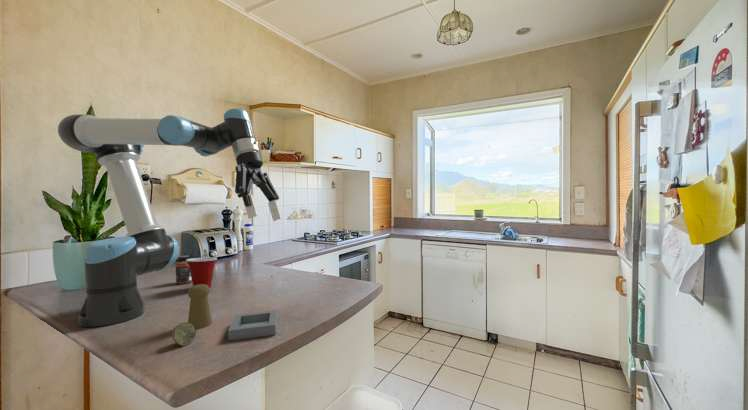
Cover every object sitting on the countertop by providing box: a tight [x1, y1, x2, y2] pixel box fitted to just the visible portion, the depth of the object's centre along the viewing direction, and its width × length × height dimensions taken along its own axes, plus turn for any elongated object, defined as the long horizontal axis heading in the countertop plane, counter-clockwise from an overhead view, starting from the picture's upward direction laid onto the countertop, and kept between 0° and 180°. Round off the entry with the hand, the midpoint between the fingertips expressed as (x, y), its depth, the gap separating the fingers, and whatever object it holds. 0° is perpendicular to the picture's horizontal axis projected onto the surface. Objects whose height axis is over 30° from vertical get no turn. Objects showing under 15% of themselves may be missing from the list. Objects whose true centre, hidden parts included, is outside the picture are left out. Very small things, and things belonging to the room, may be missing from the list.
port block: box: [227, 309, 278, 342], centre depth 82 cm, size 11×11×2 cm
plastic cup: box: [186, 257, 218, 289], centre depth 122 cm, size 11×11×12 cm
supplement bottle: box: [175, 255, 193, 285], centre depth 131 cm, size 6×6×11 cm
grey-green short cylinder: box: [171, 321, 197, 347], centre depth 74 cm, size 4×5×5 cm
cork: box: [187, 284, 213, 330], centre depth 85 cm, size 6×6×11 cm
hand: (266, 218), depth 94 cm, fingers open, 13 cm apart
